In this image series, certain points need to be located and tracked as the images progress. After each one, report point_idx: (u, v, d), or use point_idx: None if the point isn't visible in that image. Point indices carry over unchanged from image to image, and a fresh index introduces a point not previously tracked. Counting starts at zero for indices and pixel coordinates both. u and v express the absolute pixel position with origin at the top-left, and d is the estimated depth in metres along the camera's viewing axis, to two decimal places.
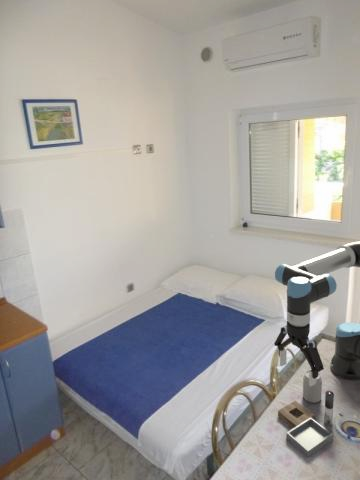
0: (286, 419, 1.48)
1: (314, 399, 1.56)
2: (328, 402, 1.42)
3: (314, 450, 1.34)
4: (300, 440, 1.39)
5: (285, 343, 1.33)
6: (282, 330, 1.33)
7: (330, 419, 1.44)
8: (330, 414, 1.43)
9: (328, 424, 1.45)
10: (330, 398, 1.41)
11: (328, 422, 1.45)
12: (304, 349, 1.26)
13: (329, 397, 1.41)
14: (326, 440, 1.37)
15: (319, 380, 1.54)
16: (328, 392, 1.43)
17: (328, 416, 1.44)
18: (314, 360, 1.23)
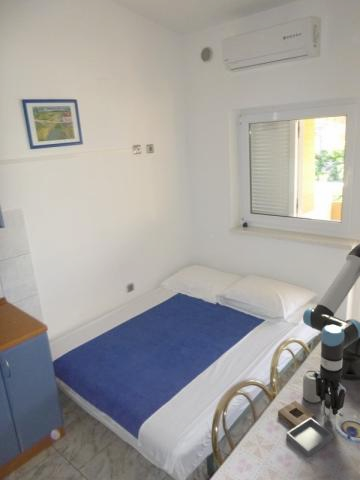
0: (286, 419, 1.48)
1: (314, 399, 1.56)
2: (328, 402, 1.42)
3: (314, 450, 1.34)
4: (300, 440, 1.39)
5: (323, 389, 1.43)
6: (316, 375, 1.45)
7: None
8: None
9: (328, 424, 1.45)
10: (330, 398, 1.41)
11: (328, 422, 1.45)
12: (333, 391, 1.39)
13: (329, 397, 1.41)
14: (326, 440, 1.37)
15: None
16: (328, 392, 1.43)
17: (328, 416, 1.44)
18: (339, 401, 1.37)
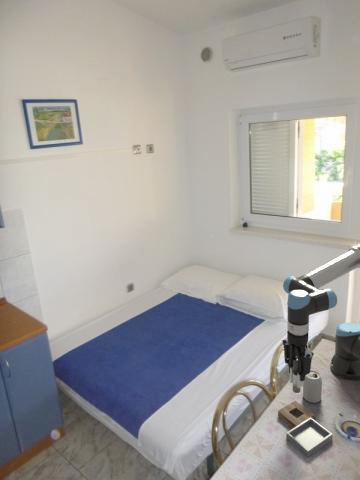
0: (286, 419, 1.48)
1: (314, 399, 1.56)
2: (295, 368, 1.42)
3: (314, 450, 1.34)
4: (300, 440, 1.39)
5: (291, 356, 1.43)
6: (284, 342, 1.44)
7: None
8: None
9: (296, 391, 1.45)
10: None
11: (296, 389, 1.44)
12: (300, 357, 1.39)
13: (296, 363, 1.41)
14: (326, 440, 1.37)
15: (319, 380, 1.54)
16: (295, 359, 1.42)
17: (296, 383, 1.43)
18: (305, 367, 1.37)
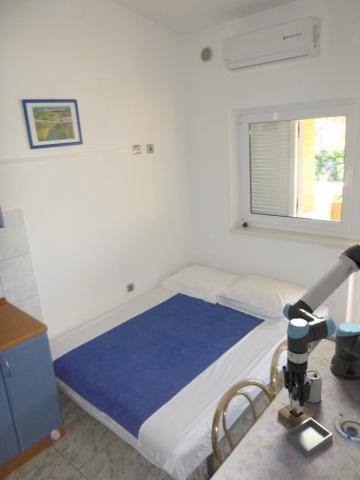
0: (286, 419, 1.48)
1: (314, 399, 1.56)
2: (295, 394, 1.45)
3: (314, 450, 1.34)
4: (300, 440, 1.39)
5: (290, 382, 1.46)
6: (284, 368, 1.48)
7: None
8: None
9: (295, 416, 1.48)
10: (297, 390, 1.44)
11: (295, 414, 1.48)
12: (299, 383, 1.42)
13: (296, 389, 1.44)
14: (326, 440, 1.37)
15: (319, 380, 1.54)
16: (295, 385, 1.46)
17: (296, 408, 1.47)
18: (304, 393, 1.41)
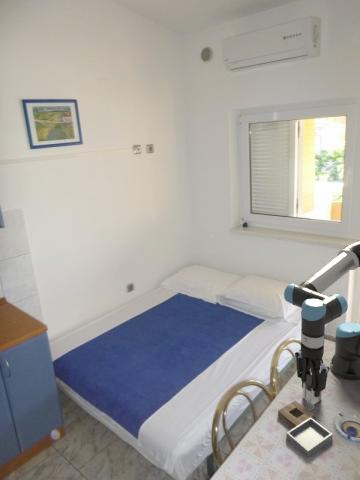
0: (286, 419, 1.48)
1: None
2: (309, 383, 1.31)
3: (314, 450, 1.34)
4: (300, 440, 1.39)
5: (304, 370, 1.32)
6: (296, 355, 1.34)
7: None
8: None
9: (310, 408, 1.34)
10: (312, 379, 1.30)
11: (309, 406, 1.34)
12: (314, 371, 1.28)
13: (310, 378, 1.30)
14: (326, 440, 1.37)
15: None
16: (309, 373, 1.32)
17: (310, 399, 1.33)
18: (320, 382, 1.27)
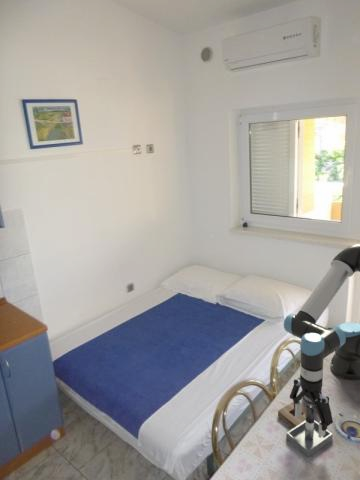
0: (286, 419, 1.48)
1: None
2: (309, 416, 1.35)
3: (314, 450, 1.34)
4: (300, 440, 1.39)
5: (299, 396, 1.37)
6: (295, 382, 1.38)
7: (311, 434, 1.37)
8: (311, 429, 1.37)
9: (309, 439, 1.38)
10: (311, 412, 1.34)
11: (309, 437, 1.38)
12: (316, 403, 1.31)
13: (310, 411, 1.34)
14: (326, 440, 1.37)
15: None
16: (309, 406, 1.36)
17: (309, 431, 1.37)
18: (325, 415, 1.28)
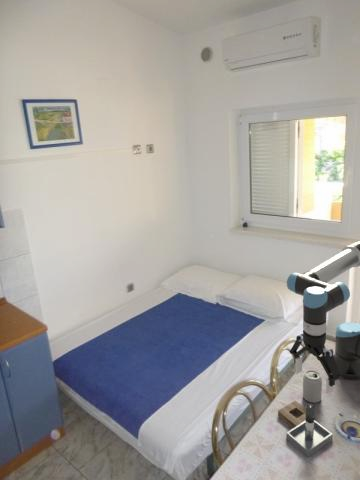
0: (286, 419, 1.48)
1: (314, 399, 1.56)
2: (308, 415, 1.35)
3: (314, 450, 1.34)
4: (300, 440, 1.39)
5: (301, 351, 1.35)
6: (298, 338, 1.35)
7: (311, 434, 1.37)
8: (311, 429, 1.37)
9: (309, 439, 1.38)
10: (311, 412, 1.34)
11: (309, 437, 1.38)
12: (321, 358, 1.28)
13: (309, 411, 1.34)
14: (326, 440, 1.37)
15: (319, 380, 1.54)
16: (309, 405, 1.36)
17: (309, 431, 1.37)
18: (331, 368, 1.25)
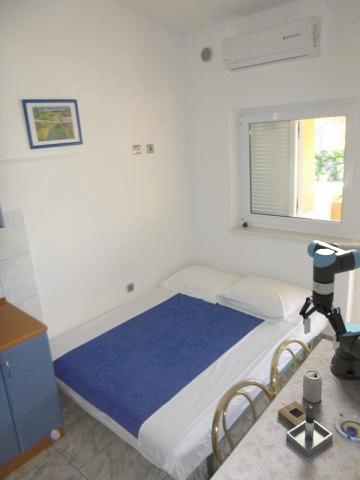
0: (286, 419, 1.48)
1: (314, 399, 1.56)
2: (308, 416, 1.35)
3: (314, 450, 1.34)
4: (300, 440, 1.39)
5: (310, 311, 1.46)
6: (307, 300, 1.45)
7: (311, 434, 1.37)
8: (311, 429, 1.37)
9: (309, 439, 1.38)
10: (311, 413, 1.34)
11: (309, 437, 1.38)
12: (329, 315, 1.38)
13: (309, 411, 1.34)
14: (326, 440, 1.37)
15: (319, 380, 1.54)
16: (309, 406, 1.36)
17: (309, 431, 1.37)
18: (338, 324, 1.35)
